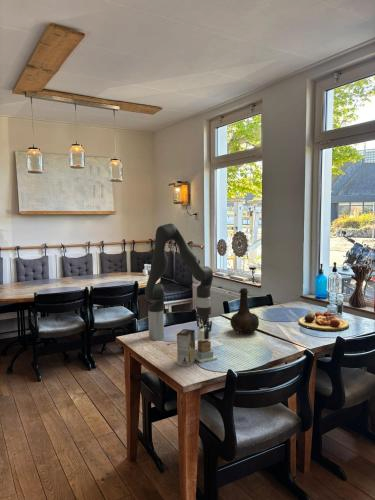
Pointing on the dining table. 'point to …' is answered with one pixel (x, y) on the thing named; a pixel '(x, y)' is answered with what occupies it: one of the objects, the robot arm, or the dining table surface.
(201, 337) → the cream brick
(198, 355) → the tower base
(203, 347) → the walnut brick
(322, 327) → the wooden plate with food
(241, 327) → the glass bottle
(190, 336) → the coffee box
